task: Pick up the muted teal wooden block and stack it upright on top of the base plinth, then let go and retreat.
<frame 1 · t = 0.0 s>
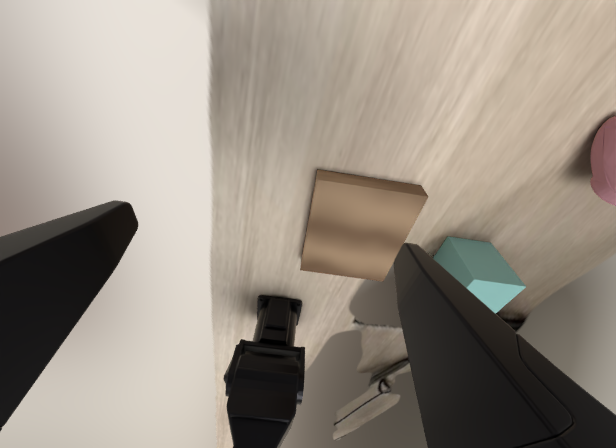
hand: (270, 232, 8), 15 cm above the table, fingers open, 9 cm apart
base plinth: (353, 226, 26), on the table
teal block: (457, 254, 28), on the table
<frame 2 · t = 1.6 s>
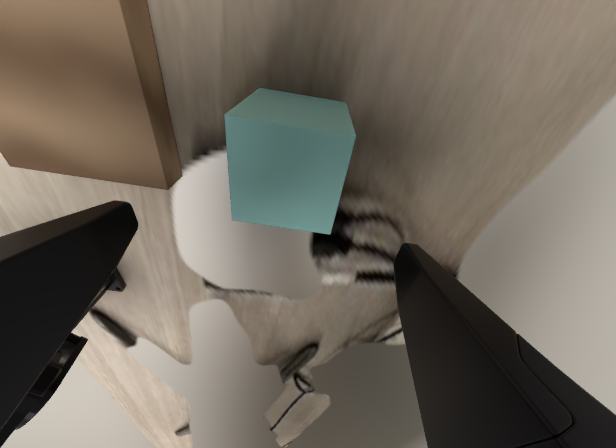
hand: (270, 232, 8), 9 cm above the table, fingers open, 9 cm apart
base plinth: (72, 66, 13), on the table
teal block: (298, 138, 15), on the table
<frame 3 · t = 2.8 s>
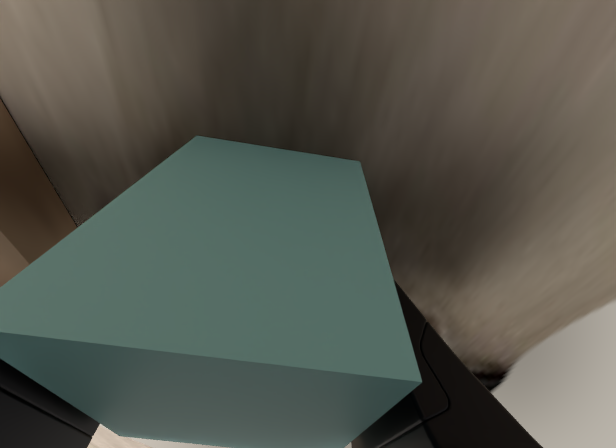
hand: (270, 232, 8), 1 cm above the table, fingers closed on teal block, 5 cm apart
teal block: (275, 214, 9), on the table, touching gripper
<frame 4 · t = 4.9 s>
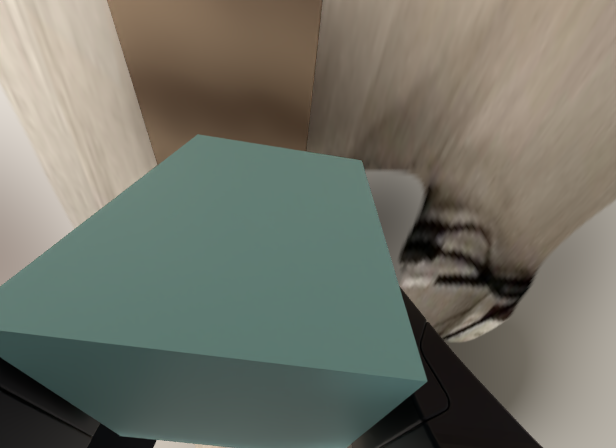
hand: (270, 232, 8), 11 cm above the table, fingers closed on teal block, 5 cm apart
base plinth: (234, 108, 16), on the table
teal block: (276, 213, 9), point 10 cm above the table, touching gripper
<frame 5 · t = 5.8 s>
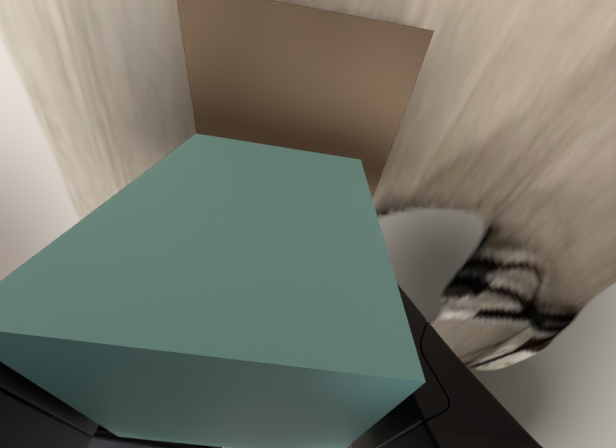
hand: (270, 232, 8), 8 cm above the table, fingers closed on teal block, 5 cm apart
base plinth: (295, 143, 14), on the table
teal block: (275, 213, 9), point 7 cm above the table, touching gripper
when the fingers open (4 cm above the table, at t = 6.8 s): teal block drops 1 cm, resting on base plinth.
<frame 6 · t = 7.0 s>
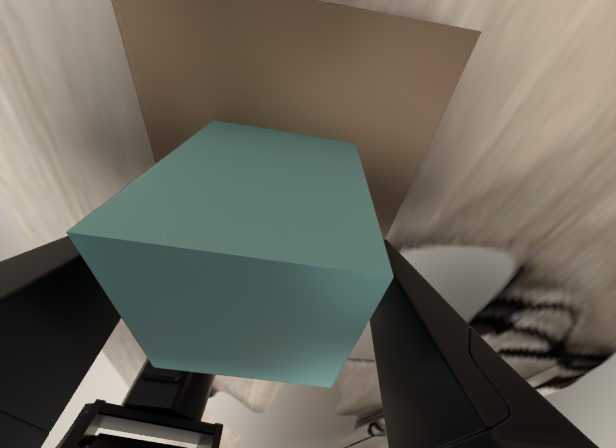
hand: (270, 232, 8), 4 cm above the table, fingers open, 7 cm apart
base plinth: (287, 171, 11), on the table
teal block: (280, 192, 10), point 2 cm above the table, touching base plinth
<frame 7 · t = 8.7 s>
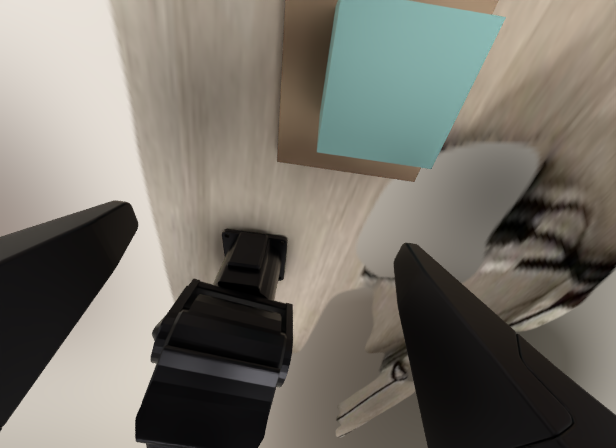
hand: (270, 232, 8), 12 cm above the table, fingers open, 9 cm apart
base plinth: (366, 70, 15), on the table
teal block: (370, 74, 13), point 2 cm above the table, touching base plinth
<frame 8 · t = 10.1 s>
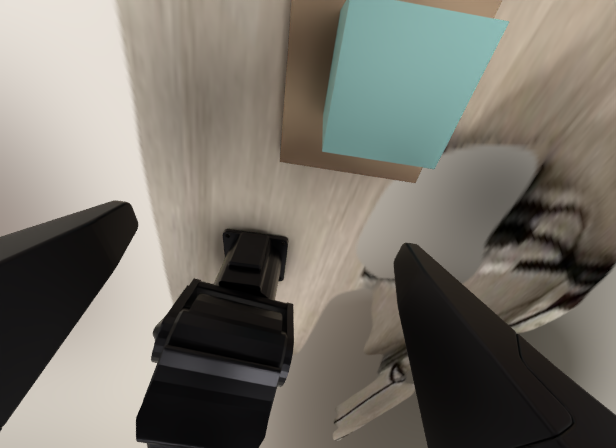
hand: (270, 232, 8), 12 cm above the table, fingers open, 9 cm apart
base plinth: (369, 72, 15), on the table
teal block: (374, 76, 14), point 2 cm above the table, touching base plinth
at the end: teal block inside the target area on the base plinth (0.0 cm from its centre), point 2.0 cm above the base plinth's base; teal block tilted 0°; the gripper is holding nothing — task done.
